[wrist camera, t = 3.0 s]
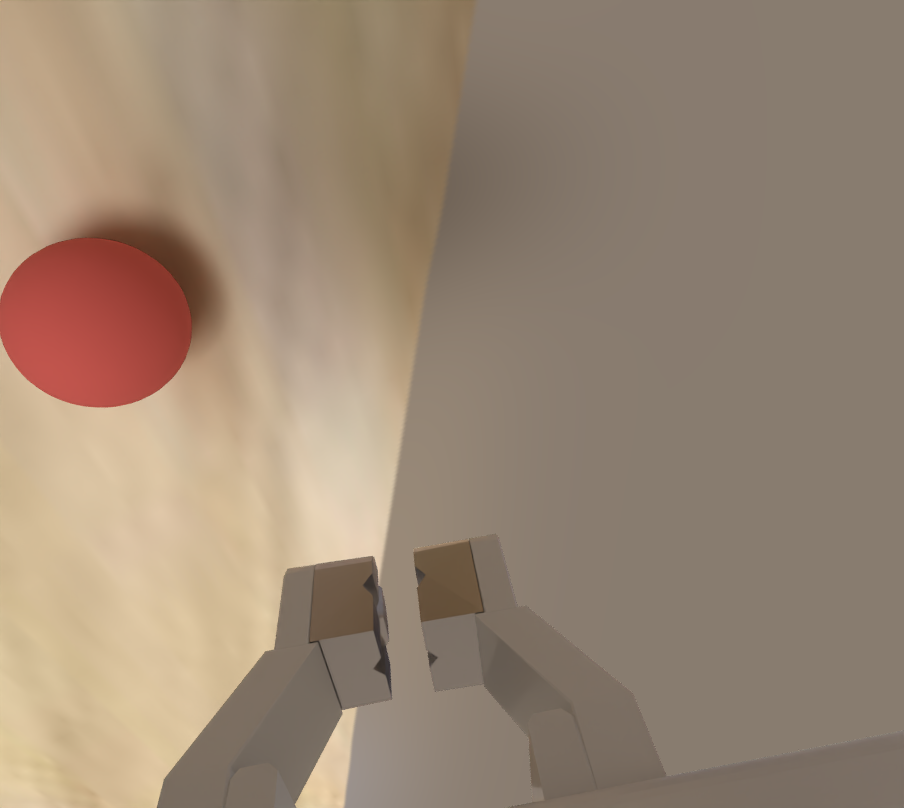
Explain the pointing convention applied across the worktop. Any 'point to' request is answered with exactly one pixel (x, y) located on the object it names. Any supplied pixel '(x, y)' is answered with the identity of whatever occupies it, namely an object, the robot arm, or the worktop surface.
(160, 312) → the ball
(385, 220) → the worktop surface
